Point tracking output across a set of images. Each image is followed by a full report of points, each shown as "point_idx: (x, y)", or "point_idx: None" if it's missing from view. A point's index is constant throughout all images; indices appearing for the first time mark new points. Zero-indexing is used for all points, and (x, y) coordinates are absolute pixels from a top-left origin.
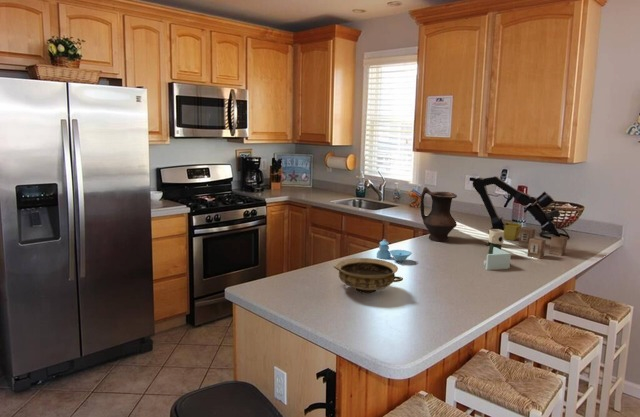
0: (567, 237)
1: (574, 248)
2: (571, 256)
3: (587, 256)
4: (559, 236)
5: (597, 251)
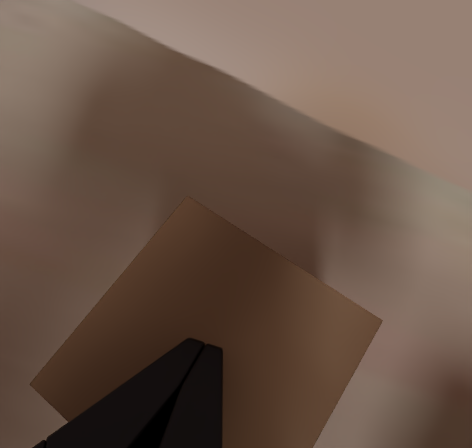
0: (200, 205)
1: (5, 137)
2: (315, 242)
3: (265, 109)
4: None
5: (84, 11)
